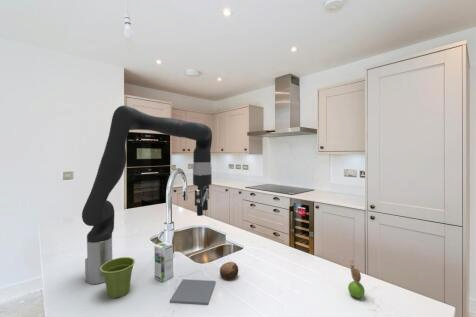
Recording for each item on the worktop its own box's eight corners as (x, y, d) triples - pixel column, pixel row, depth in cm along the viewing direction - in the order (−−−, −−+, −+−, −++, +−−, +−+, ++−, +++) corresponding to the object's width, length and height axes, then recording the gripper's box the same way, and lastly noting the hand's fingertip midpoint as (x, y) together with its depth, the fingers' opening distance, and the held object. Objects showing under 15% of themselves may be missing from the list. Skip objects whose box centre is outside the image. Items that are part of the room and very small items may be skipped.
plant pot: (110, 284, 94) (109, 257, 94) (139, 283, 95) (139, 256, 95) (94, 303, 82) (93, 272, 82) (128, 302, 83) (127, 271, 83)
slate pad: (169, 302, 82) (169, 300, 82) (182, 281, 96) (182, 279, 96) (208, 305, 81) (208, 302, 81) (215, 282, 95) (215, 280, 95)
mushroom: (230, 262, 106) (228, 255, 102) (242, 273, 102) (241, 267, 98) (217, 275, 102) (215, 268, 98) (229, 288, 97) (228, 281, 94)
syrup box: (153, 278, 98) (153, 245, 98) (165, 272, 103) (164, 240, 103) (162, 282, 95) (162, 248, 95) (173, 276, 100) (173, 243, 100)
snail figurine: (357, 290, 89) (358, 259, 89) (367, 300, 83) (367, 268, 83) (344, 290, 89) (344, 260, 89) (353, 301, 83) (353, 268, 83)
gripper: (197, 171, 101) (198, 208, 101) (187, 174, 87) (188, 217, 87) (214, 171, 100) (215, 208, 101) (207, 175, 86) (207, 217, 87)
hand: (202, 212), depth 94 cm, fingers open, 8 cm apart
